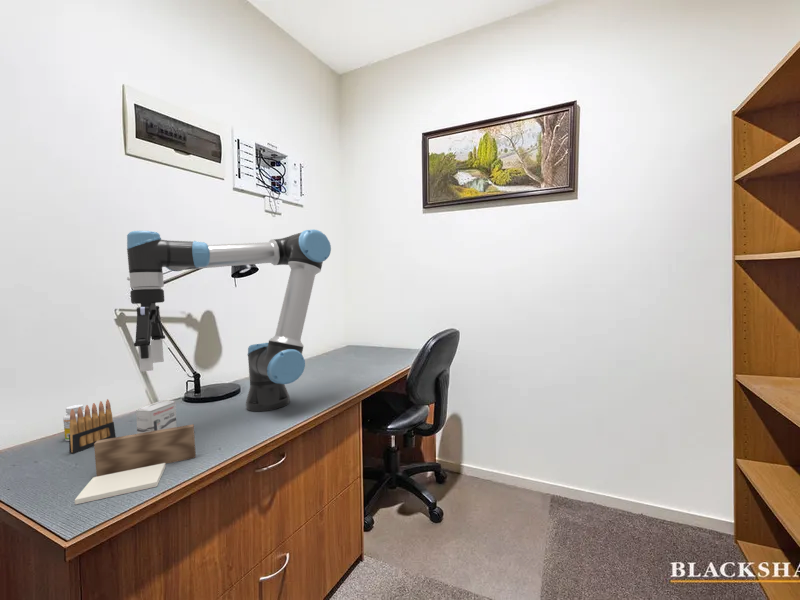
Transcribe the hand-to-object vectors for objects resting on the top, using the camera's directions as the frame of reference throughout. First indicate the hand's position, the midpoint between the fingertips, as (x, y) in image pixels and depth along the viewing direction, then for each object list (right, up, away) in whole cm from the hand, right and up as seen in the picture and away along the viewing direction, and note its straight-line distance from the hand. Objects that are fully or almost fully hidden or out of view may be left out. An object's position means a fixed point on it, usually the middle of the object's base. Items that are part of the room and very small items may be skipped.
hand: (152, 366), depth 100 cm
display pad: (+7, -23, -19) cm, 30 cm away
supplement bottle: (-30, -24, +11) cm, 40 cm away
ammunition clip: (-20, -24, +5) cm, 31 cm away
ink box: (+1, -23, +1) cm, 23 cm away
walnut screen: (+6, -23, -10) cm, 26 cm away
